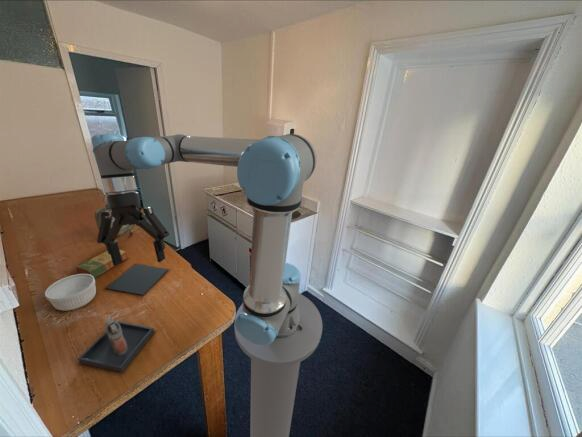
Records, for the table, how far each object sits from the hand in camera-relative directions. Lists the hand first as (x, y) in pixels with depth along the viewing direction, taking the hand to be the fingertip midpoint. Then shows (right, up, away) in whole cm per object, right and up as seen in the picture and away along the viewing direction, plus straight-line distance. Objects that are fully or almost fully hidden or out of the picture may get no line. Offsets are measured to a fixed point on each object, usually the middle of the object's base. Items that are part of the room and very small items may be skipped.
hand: (139, 262), depth 70 cm
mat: (-18, -12, +27) cm, 35 cm away
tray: (-7, -26, +1) cm, 27 cm away
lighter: (-7, -26, +1) cm, 27 cm away
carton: (-37, -8, +33) cm, 51 cm away
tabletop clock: (-47, +3, +55) cm, 72 cm away
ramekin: (-33, -17, +15) cm, 40 cm away
